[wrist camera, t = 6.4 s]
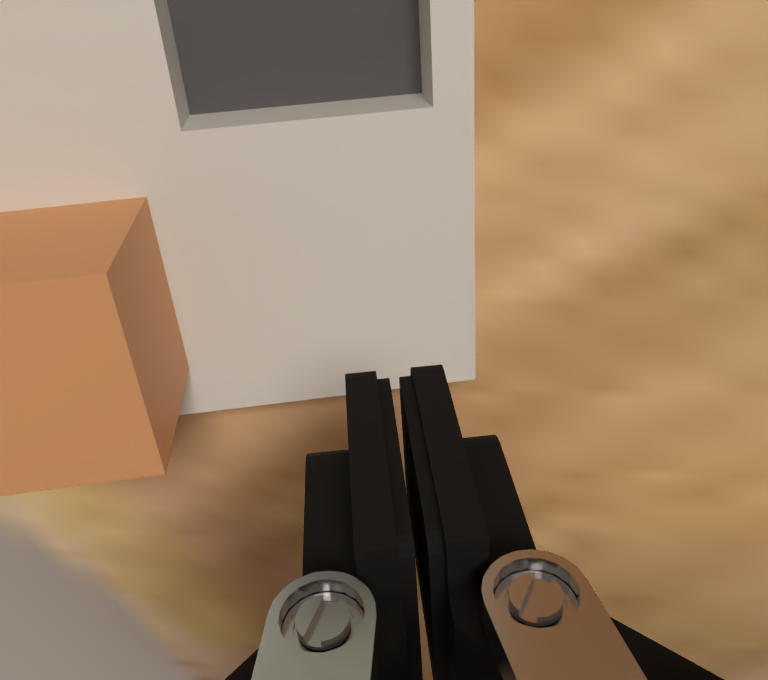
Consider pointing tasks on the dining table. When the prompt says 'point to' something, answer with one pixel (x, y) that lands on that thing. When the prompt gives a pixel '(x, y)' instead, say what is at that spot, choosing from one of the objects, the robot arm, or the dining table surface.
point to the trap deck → (266, 174)
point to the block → (85, 347)
